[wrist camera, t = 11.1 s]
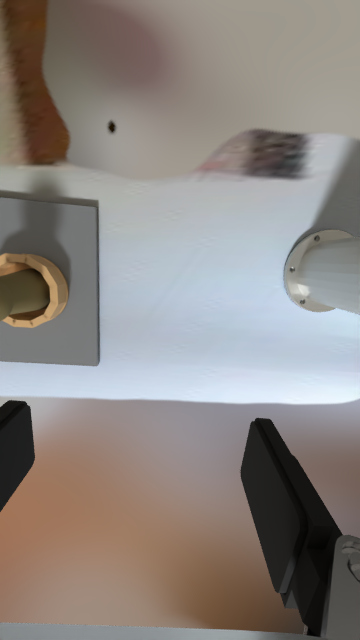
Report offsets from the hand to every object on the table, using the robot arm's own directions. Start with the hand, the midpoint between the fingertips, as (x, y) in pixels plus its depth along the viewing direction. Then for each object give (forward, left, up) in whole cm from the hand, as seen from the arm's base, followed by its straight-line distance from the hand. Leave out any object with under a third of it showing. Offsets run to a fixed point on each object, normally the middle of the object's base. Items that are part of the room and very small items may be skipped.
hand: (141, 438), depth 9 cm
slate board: (+19, -2, -27) cm, 33 cm away
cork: (+18, -2, -26) cm, 31 cm away
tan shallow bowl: (+19, -2, -26) cm, 32 cm away
